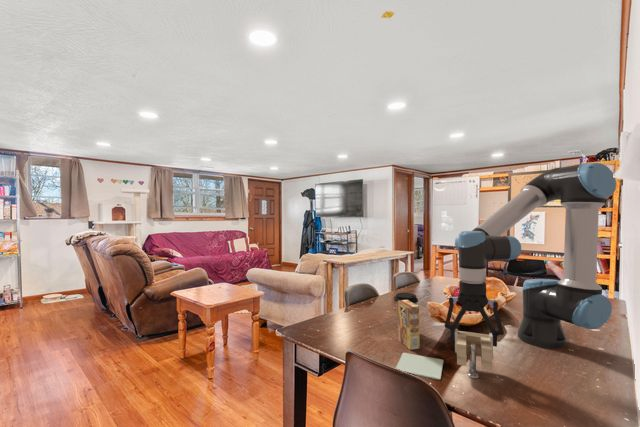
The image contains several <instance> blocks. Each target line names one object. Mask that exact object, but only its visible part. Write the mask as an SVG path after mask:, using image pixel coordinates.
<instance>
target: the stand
mask: <svg viewBox="0 0 640 427" xmlns="http://www.w3.org/2000/svg"><path fill="white" fill-rule="evenodd" d="M476 350H477V347H476V345H475V344H470V345H469V355H468V356H469V359H468V360H469V370H468V372H467V373H466V375H467V377H468V378H471V379H475V380H477V379H479V374H478V373H477V356H476Z"/></svg>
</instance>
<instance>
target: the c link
mask: <svg viewBox="0 0 640 427" xmlns="http://www.w3.org/2000/svg"><path fill="white" fill-rule="evenodd" d="M470 344H475V345H476V347H477V350H476V357H479V358H480V359H481V368H482V370H487V371H493V358H492V347H491V341H490V336H489V334H486V333H478V332H471V331H461V330H458V334H457V353H456V365H458V366H464V367H467V362H468V361H467V360H468V359H467V356H469V345H470Z"/></svg>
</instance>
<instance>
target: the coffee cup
mask: <svg viewBox="0 0 640 427" xmlns="http://www.w3.org/2000/svg"><path fill="white" fill-rule="evenodd" d="M393 300H394V302H395V309H396V320H397V326H398V327H397V328H398V330H399V321H398V301H399V300H409V301H410V302H412V303H414V304H416V305H418V302H419V299H418V298H417V295H416V294H413V293H412V292H411V293H410V292H399V293H396V294H395V296H394V298H393Z"/></svg>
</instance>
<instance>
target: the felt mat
mask: <svg viewBox="0 0 640 427" xmlns="http://www.w3.org/2000/svg"><path fill="white" fill-rule="evenodd" d="M443 365H444V359H440V358H435V357H429V356H425V355H418V354H414V353H413V354H412V353H407V352H402V354H401V356H400V358H399V360H398V362H397V364H396V366H395V369H396V368H397V369H400V370H402V371H406V372H409V373H411V374H410V375H413V374H414V375H413V376H419V377H423V378H426V379H427V378H428V379H433V380H437V381H441V380H442V372H443V367H444V366H443Z"/></svg>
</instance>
